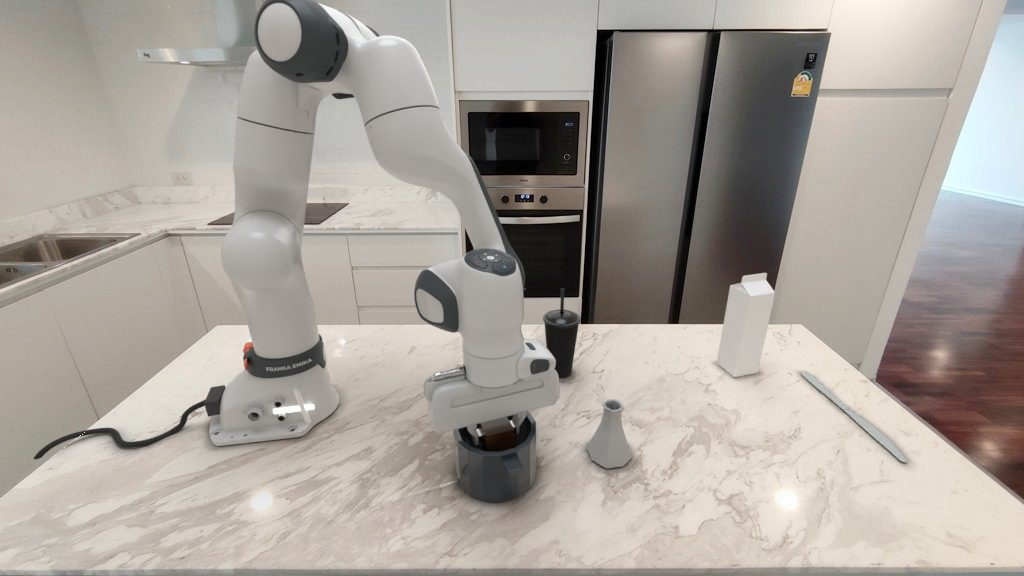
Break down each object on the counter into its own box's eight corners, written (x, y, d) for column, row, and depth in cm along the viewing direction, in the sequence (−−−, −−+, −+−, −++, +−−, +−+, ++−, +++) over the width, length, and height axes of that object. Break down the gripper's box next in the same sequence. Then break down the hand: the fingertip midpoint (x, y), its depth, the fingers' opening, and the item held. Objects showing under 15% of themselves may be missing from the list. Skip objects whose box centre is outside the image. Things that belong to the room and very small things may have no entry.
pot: (474, 527, 67) (472, 478, 64) (445, 445, 83) (441, 402, 80) (556, 501, 72) (557, 454, 68) (513, 428, 87) (512, 386, 84)
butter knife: (812, 370, 103) (798, 370, 102) (916, 462, 78) (898, 462, 78) (811, 372, 103) (797, 372, 103) (914, 464, 78) (897, 464, 78)
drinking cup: (576, 386, 99) (580, 297, 92) (539, 382, 101) (540, 295, 93) (579, 366, 106) (583, 283, 98) (544, 363, 108) (546, 280, 100)
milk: (757, 373, 103) (779, 278, 94) (734, 377, 102) (754, 281, 93) (738, 359, 108) (757, 267, 100) (715, 363, 107) (732, 270, 98)
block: (487, 459, 73) (486, 436, 71) (478, 441, 77) (477, 418, 75) (514, 451, 74) (514, 429, 73) (504, 434, 78) (504, 412, 76)
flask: (605, 475, 76) (609, 424, 72) (578, 447, 82) (581, 399, 78) (640, 460, 79) (646, 410, 76) (612, 434, 85) (616, 387, 81)
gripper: (427, 387, 63) (435, 469, 69) (565, 357, 70) (563, 433, 75) (418, 364, 69) (426, 441, 74) (547, 338, 76) (546, 410, 81)
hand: (496, 437), depth 75 cm, fingers closed on block, 4 cm apart
